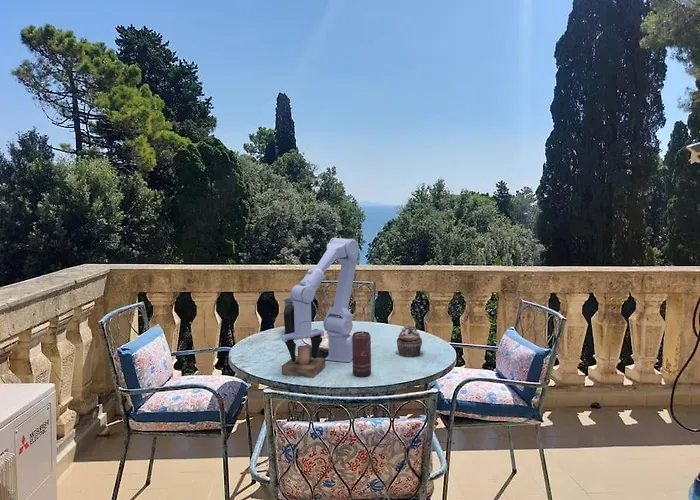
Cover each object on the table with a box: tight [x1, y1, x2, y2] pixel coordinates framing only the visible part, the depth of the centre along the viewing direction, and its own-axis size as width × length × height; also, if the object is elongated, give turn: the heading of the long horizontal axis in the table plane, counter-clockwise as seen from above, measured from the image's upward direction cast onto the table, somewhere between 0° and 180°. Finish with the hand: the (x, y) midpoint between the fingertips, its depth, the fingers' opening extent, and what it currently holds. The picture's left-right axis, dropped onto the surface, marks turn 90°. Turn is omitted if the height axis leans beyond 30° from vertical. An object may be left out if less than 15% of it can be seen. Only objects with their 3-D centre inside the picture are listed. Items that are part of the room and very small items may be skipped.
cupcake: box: [396, 326, 423, 358], centre depth 195 cm, size 10×10×10 cm
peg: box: [297, 344, 311, 365], centre depth 178 cm, size 4×4×8 cm
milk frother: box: [283, 297, 319, 335], centre depth 224 cm, size 14×16×15 cm
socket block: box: [281, 355, 326, 379], centre depth 178 cm, size 11×11×3 cm
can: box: [352, 330, 372, 378], centre depth 174 cm, size 6×6×14 cm
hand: (303, 359), depth 178 cm, fingers open, 7 cm apart
